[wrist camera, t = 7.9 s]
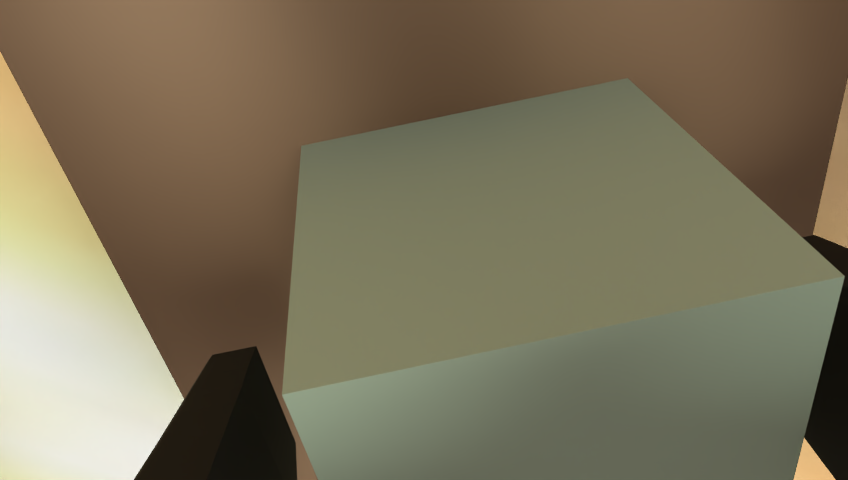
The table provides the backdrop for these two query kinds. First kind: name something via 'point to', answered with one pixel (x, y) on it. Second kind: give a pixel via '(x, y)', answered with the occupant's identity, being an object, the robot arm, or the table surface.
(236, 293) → the walnut base
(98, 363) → the table surface
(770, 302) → the sage block
